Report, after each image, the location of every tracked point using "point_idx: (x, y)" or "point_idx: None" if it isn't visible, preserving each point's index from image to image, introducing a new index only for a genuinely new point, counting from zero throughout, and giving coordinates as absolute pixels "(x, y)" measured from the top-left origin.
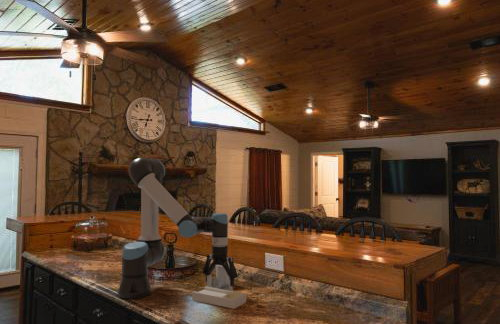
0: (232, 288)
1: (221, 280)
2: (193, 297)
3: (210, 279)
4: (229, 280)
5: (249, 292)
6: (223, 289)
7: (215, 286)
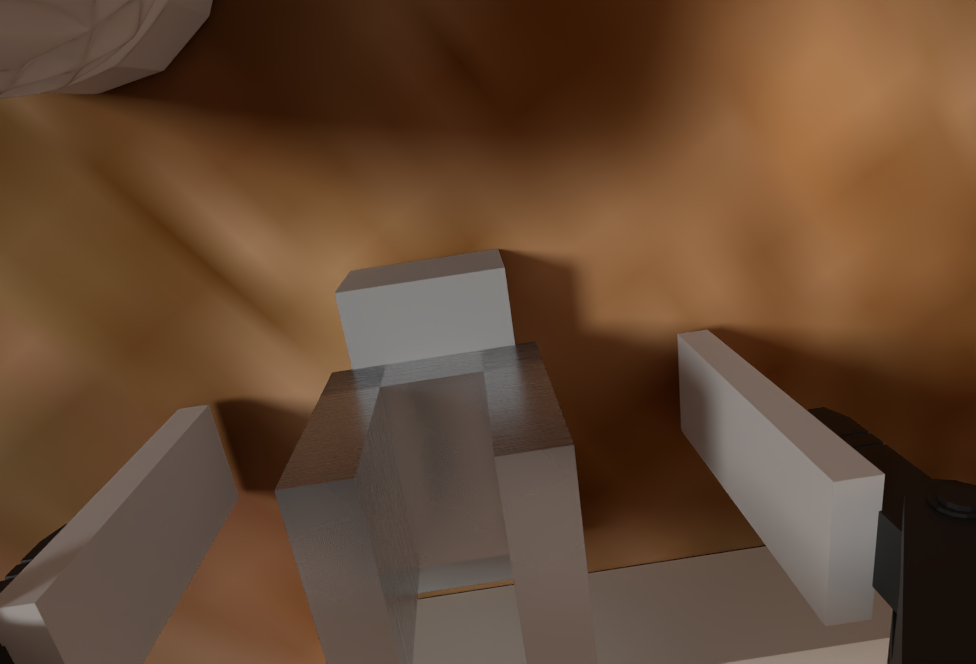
0: (737, 363)
1: (590, 634)
2: None
3: (128, 556)
4: (850, 602)
5: (959, 63)
6: None
7: (427, 561)
